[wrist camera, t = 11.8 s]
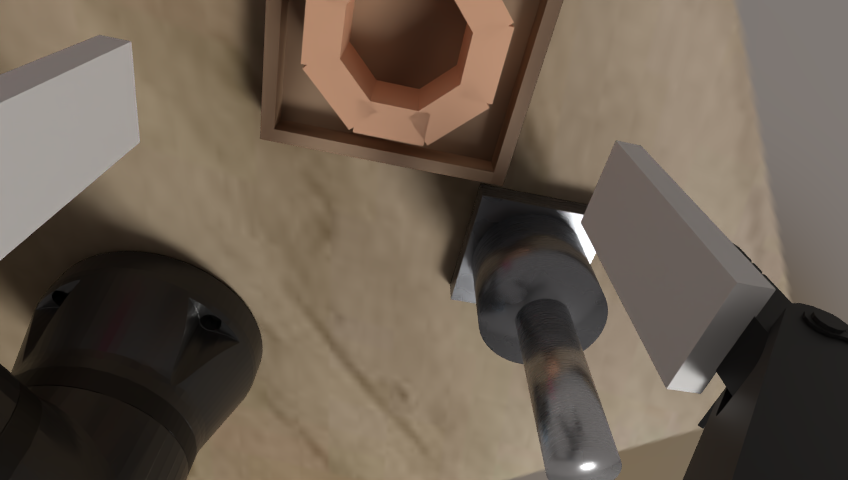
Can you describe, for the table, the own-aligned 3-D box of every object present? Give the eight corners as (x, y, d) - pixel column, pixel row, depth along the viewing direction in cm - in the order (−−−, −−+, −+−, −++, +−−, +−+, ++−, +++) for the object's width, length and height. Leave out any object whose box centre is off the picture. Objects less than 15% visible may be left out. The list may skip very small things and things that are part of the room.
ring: (328, -97, 23) (313, -97, 20) (521, -50, 24) (534, -43, 21) (310, 97, 28) (296, 121, 25) (472, 131, 29) (477, 157, 26)
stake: (450, 285, 36) (463, 511, 23) (480, 184, 32) (518, 388, 18) (559, 304, 37) (634, 533, 24) (603, 207, 33) (725, 420, 19)
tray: (272, 122, 30) (260, 138, 28) (287, -168, 23) (273, -175, 21) (497, 167, 31) (502, 186, 29) (578, -93, 24) (593, -92, 22)
